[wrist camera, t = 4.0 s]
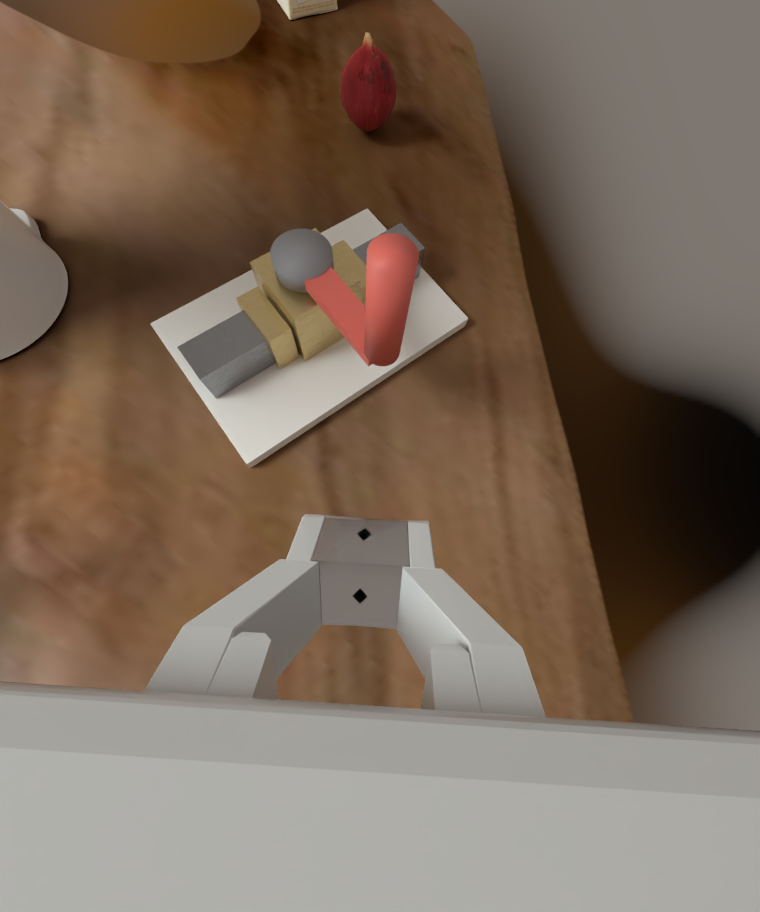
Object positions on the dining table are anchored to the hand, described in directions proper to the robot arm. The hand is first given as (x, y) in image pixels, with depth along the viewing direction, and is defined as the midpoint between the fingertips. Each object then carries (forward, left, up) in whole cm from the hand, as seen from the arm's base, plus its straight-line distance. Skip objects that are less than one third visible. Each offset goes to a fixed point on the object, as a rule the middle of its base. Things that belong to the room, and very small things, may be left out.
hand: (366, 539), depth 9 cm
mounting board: (-7, +20, -21) cm, 30 cm away
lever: (-4, +17, -14) cm, 22 cm away
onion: (-6, +47, -21) cm, 52 cm away
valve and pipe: (-7, +20, -21) cm, 30 cm away
